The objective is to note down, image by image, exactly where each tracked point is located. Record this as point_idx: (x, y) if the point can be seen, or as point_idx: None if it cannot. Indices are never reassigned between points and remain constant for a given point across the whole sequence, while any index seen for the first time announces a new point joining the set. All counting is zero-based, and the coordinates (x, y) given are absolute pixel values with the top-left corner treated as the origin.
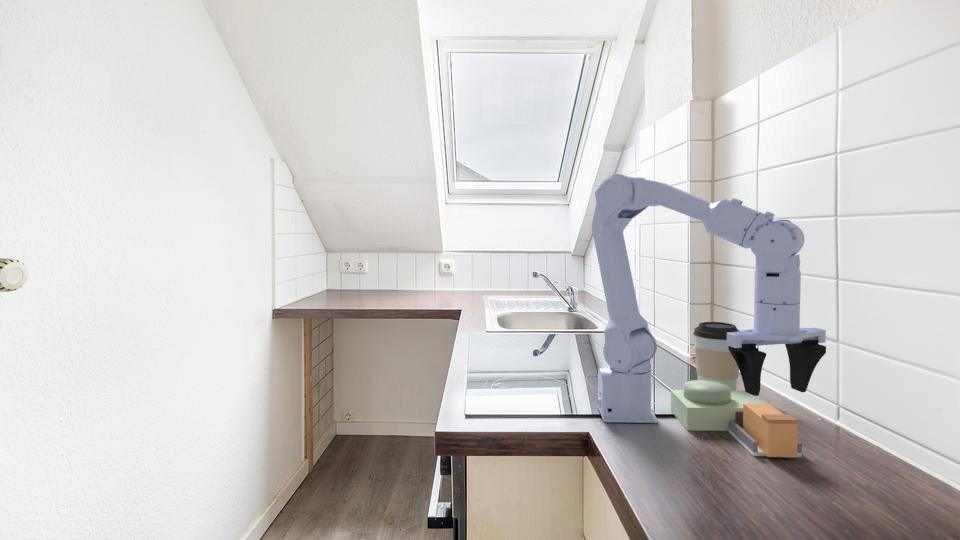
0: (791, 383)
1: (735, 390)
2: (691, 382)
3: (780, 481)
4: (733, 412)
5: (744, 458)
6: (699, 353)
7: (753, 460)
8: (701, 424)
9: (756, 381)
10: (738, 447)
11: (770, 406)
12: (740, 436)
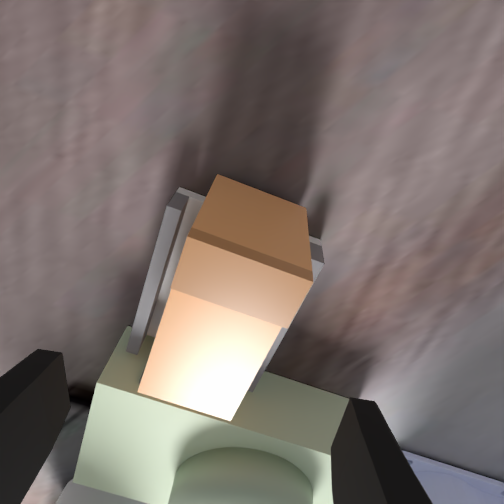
0: (57, 431)
1: (65, 497)
2: None
3: (399, 80)
4: None
5: (359, 237)
6: None
7: (345, 219)
8: (323, 405)
9: (415, 489)
10: (311, 292)
11: (151, 377)
12: None
